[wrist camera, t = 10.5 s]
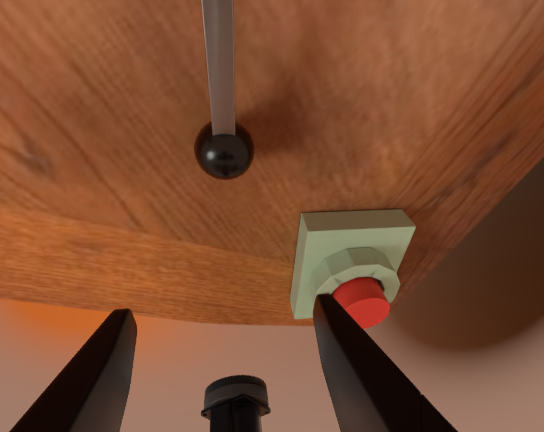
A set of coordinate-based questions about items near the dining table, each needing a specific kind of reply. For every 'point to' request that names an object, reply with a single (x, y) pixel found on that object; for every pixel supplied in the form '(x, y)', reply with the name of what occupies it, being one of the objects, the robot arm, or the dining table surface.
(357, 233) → the green button base
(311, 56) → the dining table surface
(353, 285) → the stop button
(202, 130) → the switch lever
